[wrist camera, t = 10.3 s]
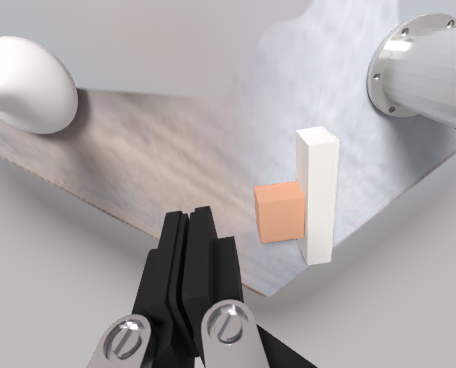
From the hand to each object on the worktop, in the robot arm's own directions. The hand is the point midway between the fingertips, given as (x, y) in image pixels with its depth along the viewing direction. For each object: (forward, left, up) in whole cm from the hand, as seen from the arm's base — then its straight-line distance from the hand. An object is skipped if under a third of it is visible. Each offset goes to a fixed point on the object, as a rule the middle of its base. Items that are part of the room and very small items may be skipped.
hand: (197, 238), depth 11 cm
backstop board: (-14, +18, -29) cm, 37 cm away
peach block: (-8, +20, -29) cm, 36 cm away
